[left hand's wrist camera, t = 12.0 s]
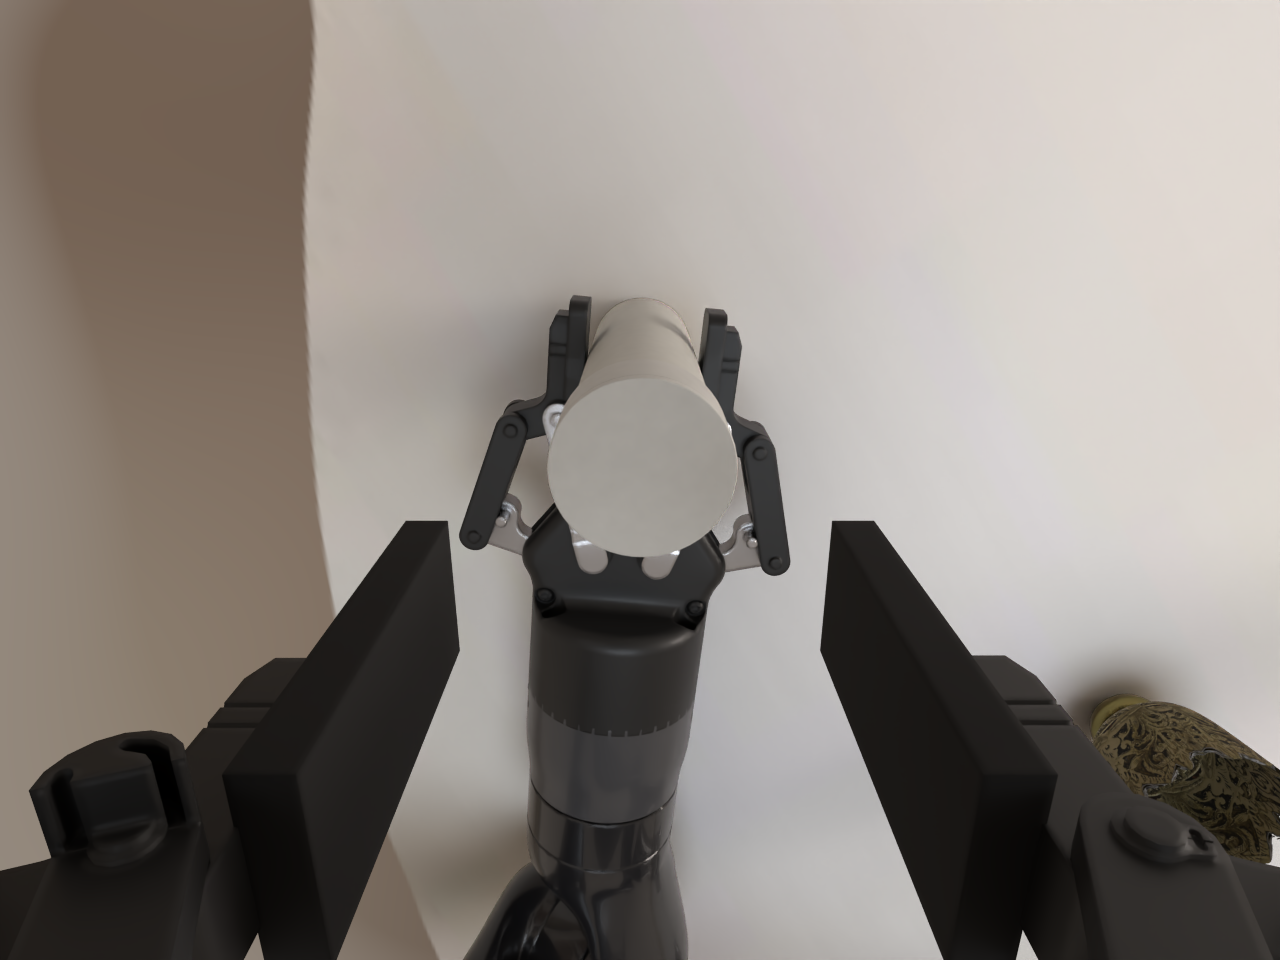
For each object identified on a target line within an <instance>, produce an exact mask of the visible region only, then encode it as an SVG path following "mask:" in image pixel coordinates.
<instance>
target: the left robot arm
mask: <svg viewBox="0 0 1280 960" xmlns="http://www.w3.org/2000/svg"><path fill="white" fill-rule="evenodd" d="M459 651H460V648H459V637H458V626H457V616H456V605H455V594H454V583H453V572H452V562H451V551H450V540H449V529H448V521H406V522H405V523H404V524H403V526H402V527H401V528H400V530H399V531H398V533H397V534H396V535H395V537H394V538H393V539H392V541H391V542H390V544H389V545H388V546H387V548H386V549H385V550H384V552H383V553H382V555H381V556H380V557H379V559H378V560H377V561H376V563H375V564H374V566H373V567H372V568H371V570H370V571H369V572H368V574H367V575H366V577H365V578H364V579H363V581H362V582H361V584H360V585H359V586H358V588H357V589H356V590H355V592H354V593H353V595H352V596H351V597H350V599H349V600H348V601H347V603H346V604H345V606H344V607H343V608H342V610H341V611H340V612H339V614H338V615H337V617H336V618H335V619H334V621H333V622H332V623H331V625H330V626H329V628H328V629H327V630H326V632H325V633H324V635H323V636H322V637H321V639H320V640H319V641H318V643H317V644H316V645H315V647H314V648H313V650H312V651H311V652H310V654H309V655H308V656H307V658H275V659H273V660H272V661H270V662H269V663H267V664H266V665H264V666H263V667H261V668H260V669H258V670H257V671H255V672H254V673H252V674H251V675H249V676H248V677H246V678H245V679H244V680H243V681H242V682H241V683H240V684H239V686H238V687H237V688H236V689H235V691H234V692H233V693H232V694H231V695H230V697H229V698H228V699H227V700H226V701H225V703H224V708H220V709H219V710H218V711H217V712H216V714H215V715H214V716H213V717H212V718H211V720H210V721H209V722H208V727H207V728H203V729H202V730H201V732H200V733H199V734H198V735H197V737H196V738H195V739H194V740H193V741H192V743H191V744H190V745H189V746H188V747H187V749H186V750H185V749H184V745H183V743H182V742H181V741H179V740H178V739H177V738H176V737H174V736H173V735H172V734H168V733H162V732H157V731H140V732H130V733H123V734H120V735H116V736H113V737H109V738H106V739H102V740H99V741H96V742H94V743H91V744H89V745H87V746H85V747H83V748H81V749H79V750H77V751H75V752H73V753H71V754H68V755H67V756H65V757H64V758H63V759H61V760H60V761H58V762H57V763H56V764H54V765H53V766H52V767H50V768H49V769H47V770H46V771H45V772H44V773H43V774H42V775H41V776H40V777H39V779H38V780H37V781H36V782H35V784H34V785H33V786H32V787H31V789H30V790H29V793H30V796H31V798H32V801H33V804H34V807H35V810H36V813H37V816H38V819H39V822H40V825H41V828H42V831H43V834H44V837H45V840H46V843H47V846H48V849H49V852H50V855H51V858H50V859H47V860H44V861H41V862H36V863H32V864H28V865H23V866H19V867H15V868H11V869H6V870H2V871H0V960H244V958H245V956H246V954H247V952H248V950H249V949H250V947H251V945H252V943H253V941H254V939H255V937H256V935H257V933H258V935H259V939H260V944H261V948H262V952H263V957H264V960H337V957H338V955H339V952H340V950H341V947H342V944H343V942H344V939H345V937H346V934H347V932H348V929H349V927H350V924H351V922H352V919H353V917H354V914H355V912H356V909H357V907H358V904H359V902H360V899H361V897H362V894H363V892H364V889H365V887H366V884H367V882H368V879H369V877H370V874H371V872H372V869H373V867H374V864H375V862H376V859H377V857H378V854H379V852H380V849H381V847H382V844H383V842H384V839H385V837H386V834H387V832H388V829H389V827H390V824H391V822H392V819H393V817H394V814H395V812H396V809H397V807H398V804H399V802H400V799H401V797H402V794H403V792H404V789H405V787H406V784H407V782H408V779H409V777H410V774H411V772H412V769H413V767H414V764H415V762H416V759H417V757H418V754H419V752H420V749H421V746H422V744H423V741H424V739H425V736H426V734H427V731H428V729H429V726H430V724H431V721H432V719H433V716H434V714H435V711H436V709H437V706H438V704H439V701H440V699H441V696H442V694H443V691H444V689H445V686H446V684H447V681H448V679H449V676H450V674H451V671H452V669H453V666H454V664H455V661H456V659H457V656H458V654H459ZM820 651H821V654H822V656H823V659H824V661H825V664H826V666H827V669H828V671H829V674H830V676H831V679H832V681H833V684H834V686H835V689H836V691H837V694H838V696H839V699H840V701H841V704H842V706H843V709H844V711H845V714H846V716H847V719H848V721H849V724H850V726H851V729H852V731H853V734H854V736H855V739H856V741H857V744H858V746H859V749H860V752H861V754H862V757H863V759H864V762H865V764H866V767H867V769H868V772H869V774H870V777H871V779H872V782H873V784H874V787H875V789H876V792H877V794H878V797H879V799H880V802H881V804H882V807H883V809H884V812H885V814H886V817H887V819H888V822H889V824H890V827H891V829H892V832H893V834H894V837H895V839H896V842H897V844H898V847H899V849H900V852H901V854H902V857H903V859H904V862H905V864H906V867H907V869H908V872H909V874H910V877H911V879H912V882H913V884H914V887H915V889H916V892H917V894H918V897H919V899H920V902H921V904H922V907H923V909H924V912H925V914H926V917H927V919H928V922H929V924H930V927H931V929H932V932H933V935H934V937H935V940H936V942H937V945H938V947H939V950H940V952H941V955H942V957H943V960H1016V957H1017V952H1018V948H1019V944H1020V939H1021V935H1022V930H1023V931H1024V933H1025V935H1026V937H1027V939H1028V941H1029V943H1030V945H1031V946H1032V948H1033V950H1034V952H1035V954H1036V956H1037V958H1038V960H1280V867H1276V866H1271V865H1267V864H1263V863H1258V862H1254V861H1250V860H1245V859H1241V858H1238V857H1234V856H1231V855H1228V854H1227V853H1226V851H1225V850H1224V848H1223V847H1222V845H1221V844H1220V843H1219V841H1218V840H1217V838H1216V837H1215V836H1214V835H1213V834H1212V833H1211V832H1209V831H1208V830H1207V829H1206V828H1204V827H1203V826H1202V825H1201V824H1200V823H1198V822H1197V821H1196V820H1195V819H1194V818H1192V817H1190V816H1188V815H1187V814H1185V813H1183V812H1181V811H1179V810H1177V809H1176V808H1174V807H1172V806H1170V805H1168V804H1166V803H1163V802H1160V801H1157V800H1154V799H1151V798H1148V797H1145V796H1142V795H1139V794H1134V793H1133V792H1132V791H1131V790H1130V788H1129V787H1128V786H1127V785H1126V784H1125V782H1124V781H1123V780H1122V779H1121V778H1120V776H1119V775H1118V774H1117V773H1116V772H1115V770H1114V769H1113V768H1112V767H1111V766H1110V764H1109V763H1108V762H1107V761H1106V760H1105V758H1104V757H1103V756H1102V755H1101V754H1100V752H1099V751H1098V750H1097V749H1096V747H1095V746H1094V745H1093V744H1092V743H1091V741H1090V740H1089V739H1088V738H1087V737H1086V735H1085V734H1084V733H1083V732H1082V731H1081V729H1080V728H1079V727H1078V726H1077V725H1073V720H1072V719H1071V717H1070V716H1069V715H1068V714H1067V713H1066V711H1065V710H1064V709H1063V708H1062V707H1061V705H1057V704H1056V699H1055V698H1054V697H1053V696H1052V694H1051V693H1050V692H1049V691H1048V690H1047V688H1046V687H1045V686H1044V685H1043V684H1042V682H1041V681H1040V680H1039V679H1038V678H1037V676H1035V675H1034V674H1032V673H1031V672H1029V671H1028V670H1026V669H1025V668H1023V667H1022V666H1020V665H1019V664H1017V663H1016V662H1014V661H1013V660H1011V659H1010V658H1008V657H1006V656H972V655H971V654H970V652H969V651H968V650H967V648H966V647H965V645H964V644H963V643H962V641H961V640H960V639H959V637H958V636H957V634H956V633H955V632H954V630H953V629H952V628H951V626H950V625H949V623H948V622H947V621H946V619H945V618H944V617H943V615H942V614H941V612H940V611H939V610H938V608H937V607H936V606H935V604H934V603H933V601H932V600H931V599H930V597H929V596H928V595H927V593H926V592H925V590H924V589H923V588H922V586H921V585H920V584H919V582H918V581H917V579H916V578H915V577H914V575H913V574H912V572H911V571H910V570H909V568H908V567H907V566H906V564H905V563H904V561H903V560H902V559H901V557H900V556H899V555H898V553H897V552H896V550H895V549H894V548H893V546H892V545H891V544H890V542H889V541H888V539H887V538H886V537H885V535H884V534H883V533H882V531H881V530H880V528H879V527H878V526H877V524H876V523H875V522H874V521H832V529H831V540H830V551H829V562H828V572H827V583H826V594H825V605H824V616H823V626H822V637H821V648H820Z"/></svg>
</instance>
